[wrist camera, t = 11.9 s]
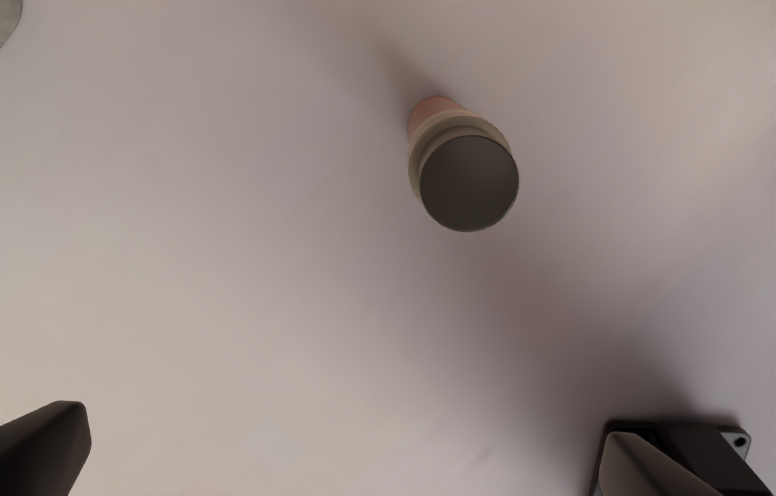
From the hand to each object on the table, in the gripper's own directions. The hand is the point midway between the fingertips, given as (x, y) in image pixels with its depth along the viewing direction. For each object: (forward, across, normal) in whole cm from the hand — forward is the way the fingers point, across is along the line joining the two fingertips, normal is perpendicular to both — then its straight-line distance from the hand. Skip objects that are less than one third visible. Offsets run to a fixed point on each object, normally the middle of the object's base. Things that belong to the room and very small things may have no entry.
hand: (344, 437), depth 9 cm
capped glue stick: (+13, -2, -4) cm, 14 cm away
